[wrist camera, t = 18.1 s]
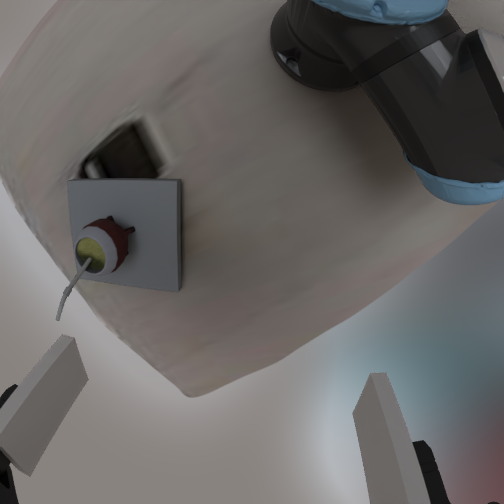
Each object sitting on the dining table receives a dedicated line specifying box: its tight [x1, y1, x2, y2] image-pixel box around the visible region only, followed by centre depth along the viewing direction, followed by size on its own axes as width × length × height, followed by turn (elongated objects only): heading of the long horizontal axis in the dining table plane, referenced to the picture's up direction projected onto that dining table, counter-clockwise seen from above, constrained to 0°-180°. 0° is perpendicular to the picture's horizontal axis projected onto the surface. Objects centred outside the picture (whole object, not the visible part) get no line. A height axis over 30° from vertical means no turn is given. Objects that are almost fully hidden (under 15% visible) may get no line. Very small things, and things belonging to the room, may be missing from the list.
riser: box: [67, 178, 182, 292], centre depth 42 cm, size 18×16×4 cm
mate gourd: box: [56, 216, 135, 321], centre depth 33 cm, size 8×8×15 cm
